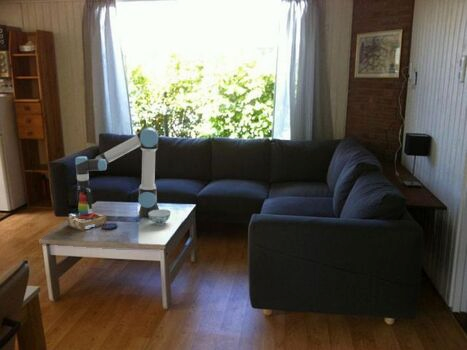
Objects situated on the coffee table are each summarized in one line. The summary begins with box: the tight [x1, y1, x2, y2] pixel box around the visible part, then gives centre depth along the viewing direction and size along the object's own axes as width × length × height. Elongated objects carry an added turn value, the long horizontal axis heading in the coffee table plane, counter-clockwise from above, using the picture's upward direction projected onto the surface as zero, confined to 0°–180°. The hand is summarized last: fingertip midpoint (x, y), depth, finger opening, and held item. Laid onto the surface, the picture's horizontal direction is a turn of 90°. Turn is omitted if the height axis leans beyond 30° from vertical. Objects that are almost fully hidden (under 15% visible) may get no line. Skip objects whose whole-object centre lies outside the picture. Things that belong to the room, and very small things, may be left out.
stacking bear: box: [77, 192, 97, 220], centre depth 281 cm, size 11×10×18 cm
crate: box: [67, 211, 107, 232], centre depth 284 cm, size 18×18×5 cm
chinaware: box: [148, 208, 171, 226], centre depth 284 cm, size 15×15×8 cm
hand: (86, 211), depth 282 cm, fingers closed on stacking bear, 9 cm apart
